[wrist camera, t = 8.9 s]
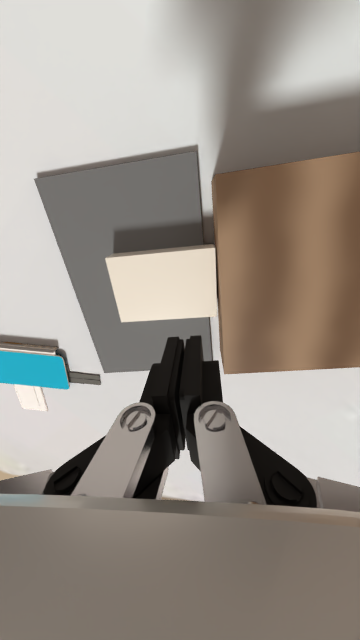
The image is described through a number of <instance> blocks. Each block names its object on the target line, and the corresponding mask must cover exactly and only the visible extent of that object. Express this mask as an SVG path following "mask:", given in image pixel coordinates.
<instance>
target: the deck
mask: <svg viewBox="0 0 360 640" xmlns="http://www.w3.org/2000/svg"><path fill="white" fill-rule="evenodd" d="M211 182H212V201H213V220H214V240H215V257H216V278H217V298H218V317H219V336H220V352H221V357H222V363H223V369H224V374H238V373H257V372H276V371H295V370H314V369H333V368H352V367H360V152H354V153H348V154H341V155H335V156H329V157H322V158H316V159H310V160H303V161H297V162H291V163H284V164H278V165H272V166H265V167H259V168H253V169H246V170H240V171H234V172H227V173H221V174H216V175H215V176H214V178H213V180H212V181H211Z"/></svg>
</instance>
